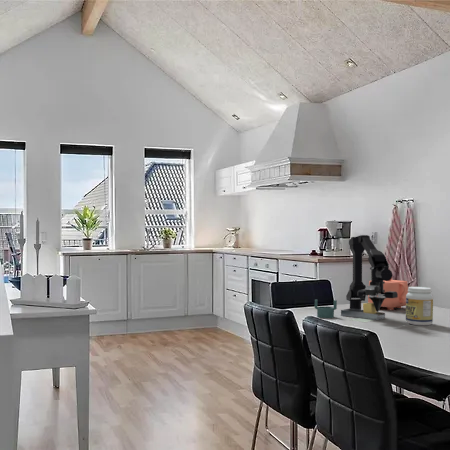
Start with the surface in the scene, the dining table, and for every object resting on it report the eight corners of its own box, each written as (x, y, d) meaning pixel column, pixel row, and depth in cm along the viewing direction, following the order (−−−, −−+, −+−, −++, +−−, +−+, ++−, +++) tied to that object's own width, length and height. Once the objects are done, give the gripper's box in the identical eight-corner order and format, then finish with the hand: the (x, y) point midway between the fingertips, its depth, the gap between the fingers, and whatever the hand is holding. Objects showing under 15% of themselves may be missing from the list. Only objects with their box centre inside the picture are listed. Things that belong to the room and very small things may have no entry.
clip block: (368, 312, 298) (367, 302, 298) (376, 313, 295) (375, 302, 295) (363, 313, 295) (362, 303, 295) (371, 314, 292) (371, 303, 292)
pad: (357, 319, 293) (357, 318, 293) (374, 321, 287) (374, 320, 287) (347, 321, 287) (347, 320, 287) (364, 323, 281) (364, 322, 281)
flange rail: (350, 314, 308) (350, 308, 308) (385, 319, 294) (385, 312, 294) (340, 316, 301) (341, 310, 301) (376, 321, 288) (376, 314, 288)
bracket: (338, 318, 295) (338, 300, 295) (323, 319, 291) (323, 301, 291) (326, 316, 303) (326, 298, 303) (311, 317, 298) (312, 299, 298)
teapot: (386, 303, 355) (386, 273, 355) (421, 308, 338) (421, 276, 338) (361, 307, 338) (362, 275, 338) (397, 311, 321) (397, 278, 321)
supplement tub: (400, 322, 286) (400, 286, 286) (420, 321, 291) (421, 285, 291) (417, 326, 275) (417, 289, 275) (438, 325, 280) (439, 288, 279)
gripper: (351, 279, 293) (351, 311, 293) (386, 281, 280) (387, 315, 280) (363, 278, 301) (363, 309, 301) (398, 280, 288) (398, 312, 288)
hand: (377, 311), depth 292 cm, fingers closed
